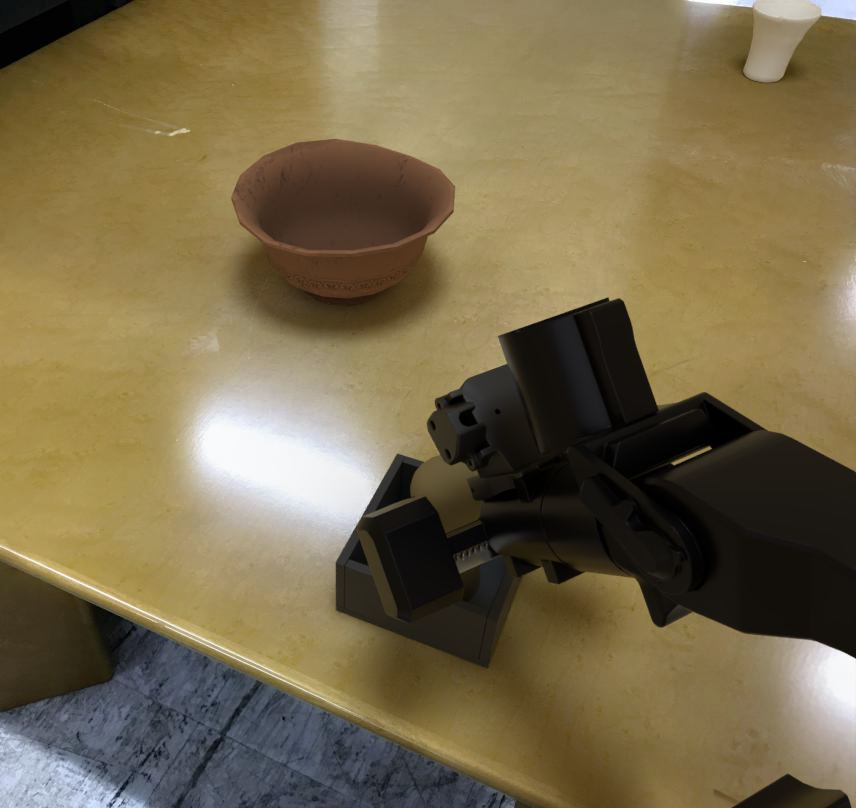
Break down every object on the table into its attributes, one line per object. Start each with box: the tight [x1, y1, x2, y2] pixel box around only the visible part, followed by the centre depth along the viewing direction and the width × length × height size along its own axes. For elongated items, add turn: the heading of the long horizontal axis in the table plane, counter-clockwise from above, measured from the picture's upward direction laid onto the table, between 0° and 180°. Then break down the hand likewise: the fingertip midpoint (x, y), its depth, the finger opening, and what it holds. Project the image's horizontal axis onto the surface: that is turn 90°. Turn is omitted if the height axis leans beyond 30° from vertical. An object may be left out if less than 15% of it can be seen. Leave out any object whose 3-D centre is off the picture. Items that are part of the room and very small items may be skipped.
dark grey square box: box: [335, 453, 523, 669], centre depth 65 cm, size 11×11×6 cm
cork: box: [410, 454, 482, 602], centre depth 62 cm, size 6×6×11 cm
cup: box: [742, 0, 823, 84], centre depth 127 cm, size 9×9×10 cm
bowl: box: [230, 138, 456, 307], centre depth 91 cm, size 22×22×11 cm
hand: (453, 511), depth 60 cm, fingers open, 9 cm apart
